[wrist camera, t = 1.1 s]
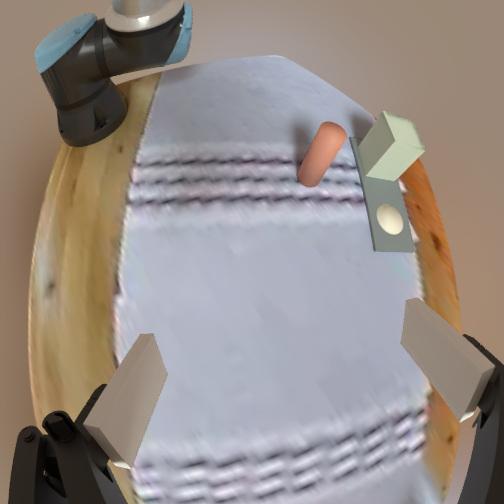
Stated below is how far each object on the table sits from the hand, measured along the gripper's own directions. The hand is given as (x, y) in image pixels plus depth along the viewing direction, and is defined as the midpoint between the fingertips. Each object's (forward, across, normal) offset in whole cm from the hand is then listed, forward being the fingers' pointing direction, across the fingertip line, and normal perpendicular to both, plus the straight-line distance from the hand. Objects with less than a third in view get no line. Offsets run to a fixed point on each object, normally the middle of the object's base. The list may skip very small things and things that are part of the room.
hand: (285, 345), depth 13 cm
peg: (+36, +9, +7) cm, 38 cm away
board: (+37, +23, +4) cm, 44 cm away
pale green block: (+40, +24, +9) cm, 47 cm away
